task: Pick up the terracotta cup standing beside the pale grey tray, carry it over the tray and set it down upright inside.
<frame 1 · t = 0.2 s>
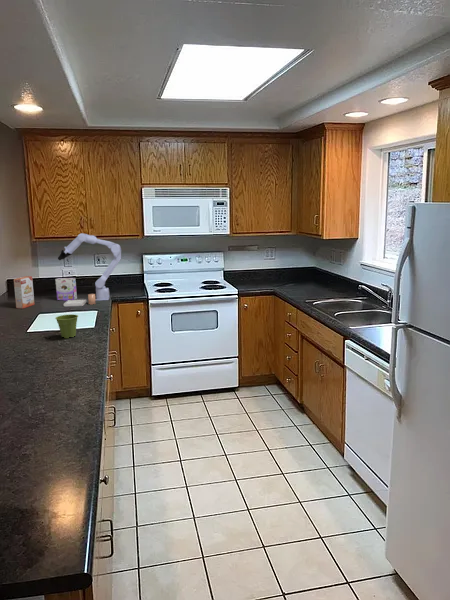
hand: (60, 259, 358), 31 cm above the counter, tool tilted 50°, fingers open, 7 cm apart
tray: (75, 304, 352), on the counter
plant pot: (68, 337, 267), on the counter
cracker box: (25, 306, 348), on the counter
candy box: (67, 300, 369), on the counter
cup: (92, 303, 353), on the counter
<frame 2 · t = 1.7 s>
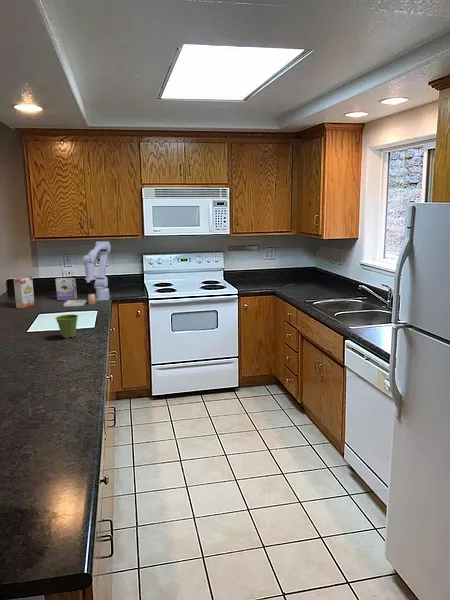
hand: (91, 290, 351), 9 cm above the counter, tool pointing down, fingers open, 7 cm apart
nothing on the counter moved.
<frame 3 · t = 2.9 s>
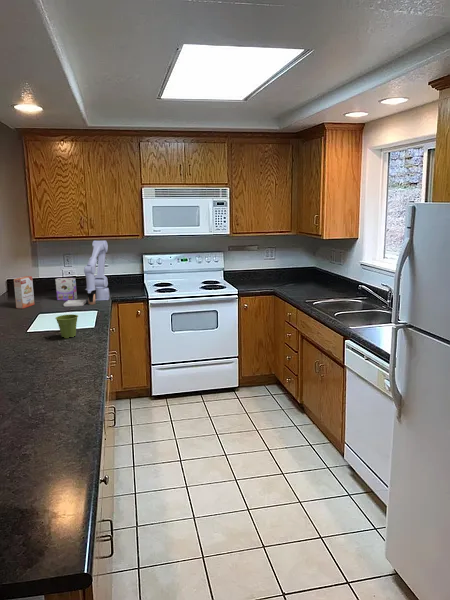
hand: (92, 301, 352), 2 cm above the counter, tool pointing down, fingers closed on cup, 5 cm apart
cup: (92, 303, 353), on the counter, touching gripper
everything else where it was.
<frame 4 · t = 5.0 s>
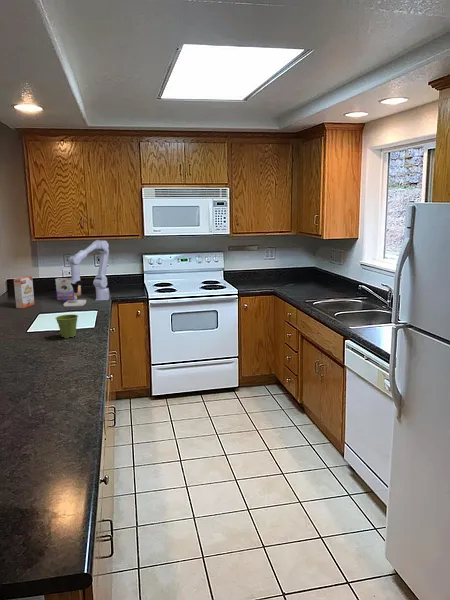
hand: (76, 292, 350), 9 cm above the counter, tool pointing down, fingers closed on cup, 5 cm apart
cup: (77, 295, 351), point 7 cm above the counter, touching gripper
everything else where it was.
when the fingers open (4 cm above the counter, at t = 7.0 s): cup drops 1 cm, resting on tray.
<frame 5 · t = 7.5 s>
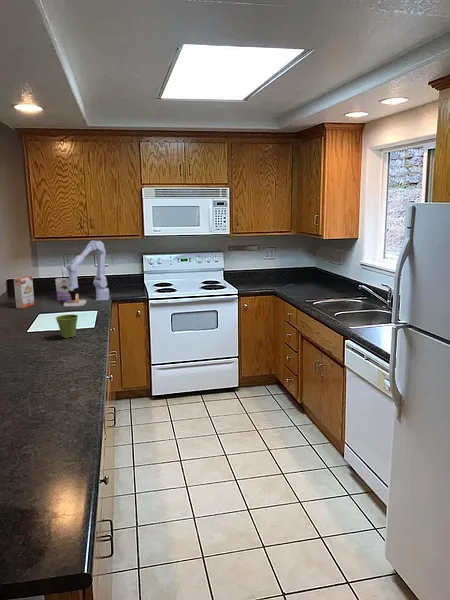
hand: (74, 299, 351), 4 cm above the counter, tool pointing down, fingers open, 7 cm apart
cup: (75, 303, 352), point 1 cm above the counter, touching tray
everything else where it was.
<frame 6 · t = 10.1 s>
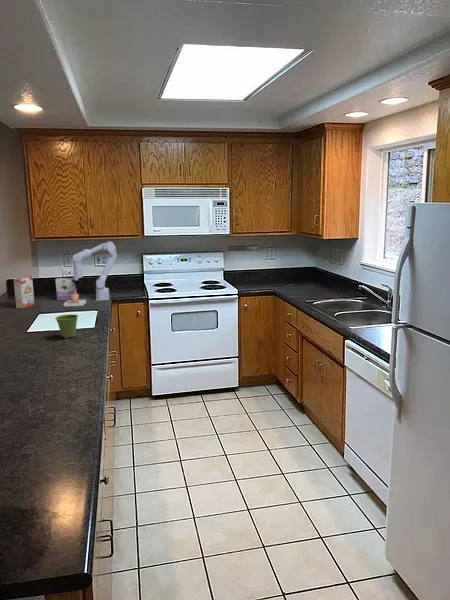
hand: (79, 288, 362), 9 cm above the counter, tool pointing down, fingers open, 7 cm apart
nothing on the counter moved.
at the end: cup inside the target area on the tray (0.2 cm from its centre), point 0.5 cm above the tray's base; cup tilted 0°; the gripper is holding nothing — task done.
